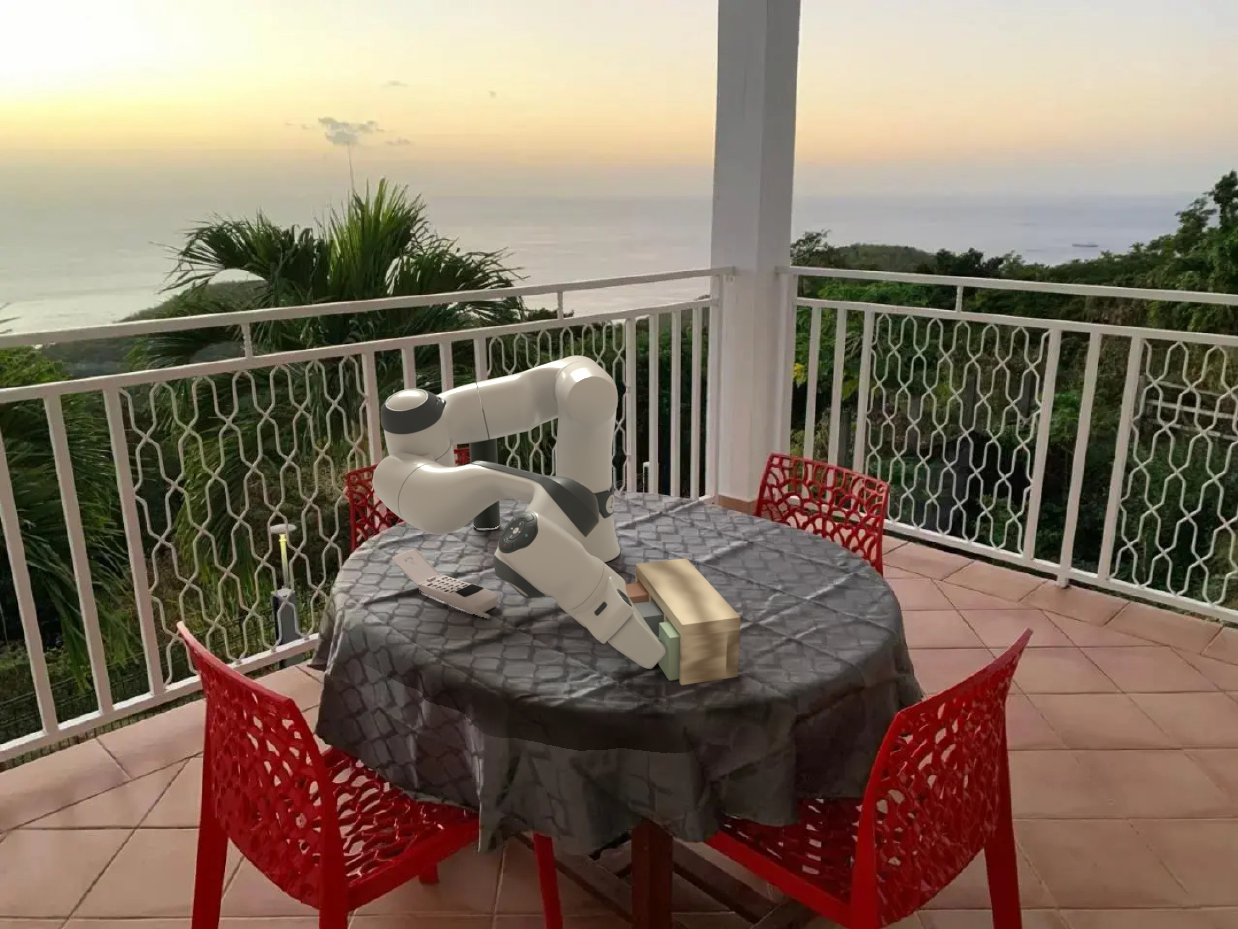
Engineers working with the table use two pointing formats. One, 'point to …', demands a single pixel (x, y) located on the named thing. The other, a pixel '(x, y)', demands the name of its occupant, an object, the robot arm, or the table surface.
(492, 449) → the wine bottle
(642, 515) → the table surface
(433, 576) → the mobile phone
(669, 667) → the sage key
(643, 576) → the key console
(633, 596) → the terracotta key
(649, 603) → the slate key
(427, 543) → the table surface
